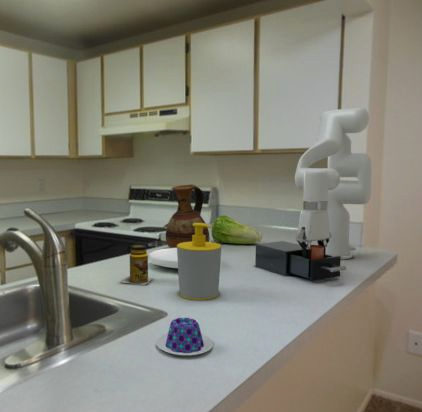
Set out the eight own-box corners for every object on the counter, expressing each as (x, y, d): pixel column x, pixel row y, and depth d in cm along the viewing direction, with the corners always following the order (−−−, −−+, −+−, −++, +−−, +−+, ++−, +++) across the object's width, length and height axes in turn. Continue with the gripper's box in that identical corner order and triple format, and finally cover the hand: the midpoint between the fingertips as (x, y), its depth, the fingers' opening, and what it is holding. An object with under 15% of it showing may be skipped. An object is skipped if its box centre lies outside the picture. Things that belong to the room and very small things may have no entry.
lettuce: (262, 247, 204) (255, 255, 191) (215, 236, 214) (206, 243, 201) (267, 220, 200) (260, 227, 188) (219, 210, 211) (210, 216, 198)
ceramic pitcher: (156, 249, 188) (156, 184, 185) (186, 243, 202) (186, 183, 199) (188, 256, 174) (188, 185, 171) (218, 249, 187) (218, 184, 184)
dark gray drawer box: (314, 271, 146) (314, 247, 146) (285, 276, 141) (286, 251, 140) (282, 262, 160) (283, 240, 160) (255, 266, 155) (255, 244, 154)
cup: (313, 258, 142) (313, 243, 141) (327, 262, 137) (327, 247, 136) (300, 260, 139) (300, 245, 139) (314, 264, 134) (314, 248, 133)
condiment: (145, 285, 131) (145, 248, 130) (120, 283, 134) (120, 247, 133) (152, 279, 138) (151, 244, 137) (128, 277, 141) (128, 243, 140)
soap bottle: (210, 303, 113) (210, 227, 111) (169, 296, 120) (168, 224, 118) (227, 291, 124) (228, 222, 122) (188, 285, 131) (188, 219, 129)
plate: (155, 245, 174) (219, 247, 168) (155, 260, 174) (219, 263, 168) (142, 251, 146) (217, 254, 141) (141, 269, 146) (217, 273, 141)
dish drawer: (353, 280, 131) (353, 259, 131) (325, 285, 126) (326, 263, 126) (306, 267, 149) (306, 248, 148) (280, 271, 144) (280, 252, 143)
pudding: (150, 337, 91) (150, 314, 90) (201, 331, 94) (201, 309, 93) (164, 362, 79) (164, 336, 79) (222, 355, 82) (222, 329, 82)
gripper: (324, 204, 143) (323, 254, 145) (287, 206, 136) (286, 260, 138) (342, 205, 136) (341, 258, 138) (304, 208, 129) (303, 264, 131)
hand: (313, 258), depth 138 cm, fingers closed on cup, 6 cm apart
